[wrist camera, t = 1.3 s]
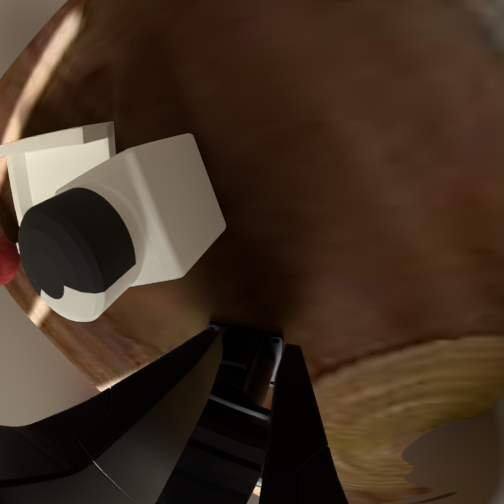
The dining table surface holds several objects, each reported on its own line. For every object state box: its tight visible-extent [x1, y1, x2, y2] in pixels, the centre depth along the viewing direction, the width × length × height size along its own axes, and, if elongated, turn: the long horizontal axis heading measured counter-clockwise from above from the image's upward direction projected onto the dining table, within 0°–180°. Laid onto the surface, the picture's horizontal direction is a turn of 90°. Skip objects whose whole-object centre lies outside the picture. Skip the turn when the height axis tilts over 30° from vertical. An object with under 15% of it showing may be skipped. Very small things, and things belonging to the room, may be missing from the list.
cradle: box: [0, 121, 116, 254], centre depth 23 cm, size 11×13×4 cm
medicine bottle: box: [18, 133, 226, 322], centre depth 17 cm, size 7×7×12 cm
